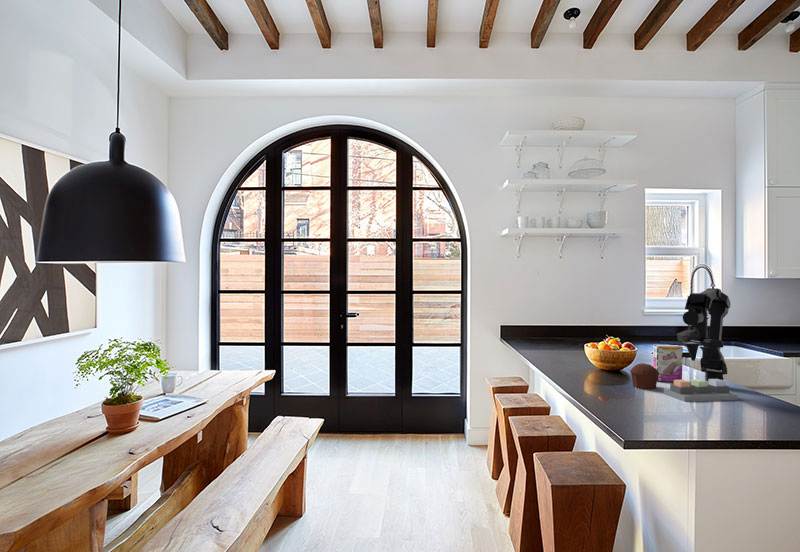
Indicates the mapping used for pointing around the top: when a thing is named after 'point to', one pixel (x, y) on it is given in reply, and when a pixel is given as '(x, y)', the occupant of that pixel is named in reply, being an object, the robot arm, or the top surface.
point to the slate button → (716, 382)
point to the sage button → (699, 383)
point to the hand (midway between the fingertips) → (699, 362)
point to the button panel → (700, 393)
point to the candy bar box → (668, 362)
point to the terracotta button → (681, 383)
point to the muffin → (644, 376)
